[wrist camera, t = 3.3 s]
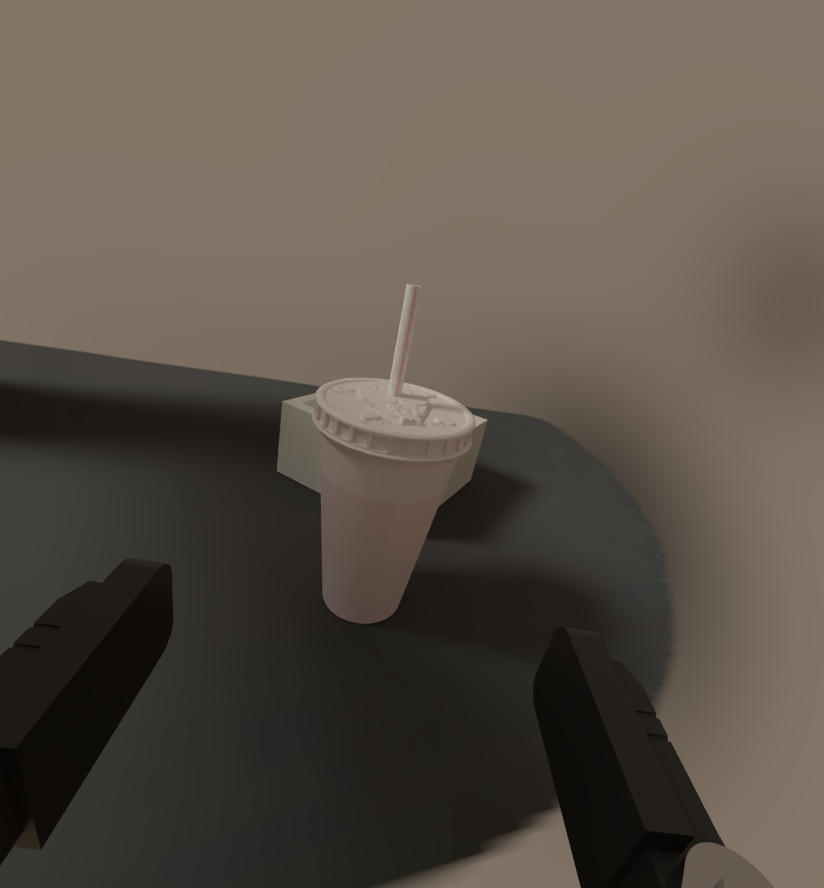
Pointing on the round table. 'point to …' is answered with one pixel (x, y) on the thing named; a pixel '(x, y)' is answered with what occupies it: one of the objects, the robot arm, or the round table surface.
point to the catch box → (304, 448)
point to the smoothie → (382, 478)
